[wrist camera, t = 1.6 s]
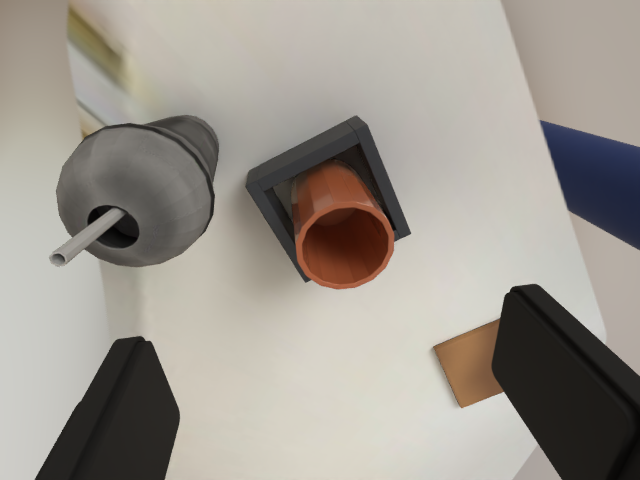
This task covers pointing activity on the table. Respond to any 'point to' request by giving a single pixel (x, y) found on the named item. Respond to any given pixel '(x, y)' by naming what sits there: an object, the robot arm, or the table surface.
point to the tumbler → (339, 226)
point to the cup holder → (310, 156)
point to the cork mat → (471, 364)
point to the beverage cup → (138, 191)
